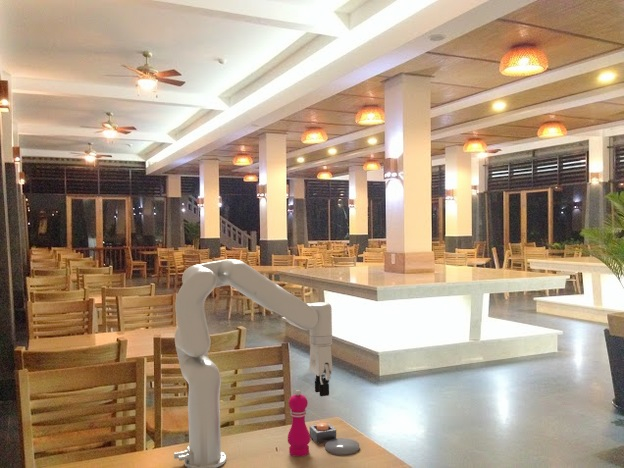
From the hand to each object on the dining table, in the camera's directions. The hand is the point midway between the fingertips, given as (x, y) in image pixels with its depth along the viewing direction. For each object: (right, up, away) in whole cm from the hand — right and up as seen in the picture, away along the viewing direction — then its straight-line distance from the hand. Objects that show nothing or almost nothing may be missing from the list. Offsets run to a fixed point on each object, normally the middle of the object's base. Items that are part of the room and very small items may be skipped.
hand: (322, 393), depth 191 cm
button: (0, -13, 0) cm, 13 cm away
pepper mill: (-7, -16, -11) cm, 21 cm away
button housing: (0, -15, +1) cm, 15 cm away
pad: (+6, -15, -8) cm, 19 cm away
